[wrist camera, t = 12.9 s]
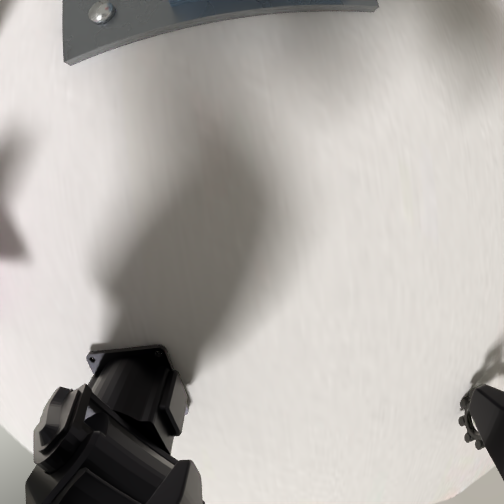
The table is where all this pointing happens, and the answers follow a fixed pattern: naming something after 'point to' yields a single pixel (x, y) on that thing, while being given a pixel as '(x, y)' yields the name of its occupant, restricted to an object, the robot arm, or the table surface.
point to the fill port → (167, 18)
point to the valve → (470, 423)
